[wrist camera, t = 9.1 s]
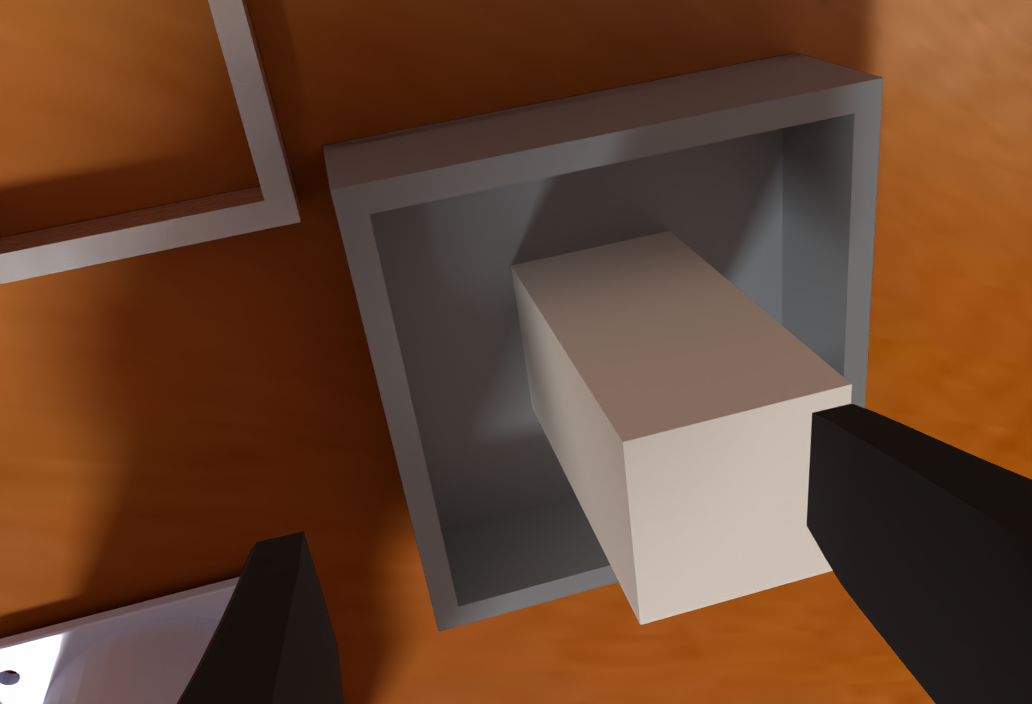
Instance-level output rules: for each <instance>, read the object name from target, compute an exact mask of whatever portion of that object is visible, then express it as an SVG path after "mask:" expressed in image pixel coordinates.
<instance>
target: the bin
mask: <svg viewBox="0 0 1032 704" xmlns="http://www.w3.org/2000/svg"><path fill="white" fill-rule="evenodd" d="M882 88H883V78H882V77H878V76H875V75H871V74H868V73H864V72H861V71H857V70H854V69H851V68H847V67H844V66H840V65H837V64H833V63H830V62H826V61H823V60H819V59H816V58H812V57H809V56H805V55H802V54H798V53H792V54H787V55H782V56H777V57H772V58H767V59H762V60H757V61H752V62H747V63H741V64H736V65H731V66H726V67H721V68H716V69H711V70H706V71H701V72H696V73H690V74H685V75H680V76H675V77H670V78H665V79H660V80H655V81H650V82H644V83H639V84H634V85H629V86H624V87H619V88H614V89H609V90H604V91H599V92H593V93H588V94H583V95H578V96H573V97H568V98H563V99H558V100H553V101H548V102H542V103H537V104H532V105H527V106H522V107H517V108H512V109H507V110H502V111H496V112H491V113H486V114H481V115H476V116H471V117H466V118H461V119H456V120H451V121H445V122H440V123H435V124H430V125H425V126H420V127H415V128H410V129H405V130H400V131H394V132H389V133H384V134H379V135H374V136H369V137H364V138H359V139H354V140H348V141H343V142H338V143H333V144H328V145H323V151H324V157H325V163H326V169H327V174H328V180H329V186H330V192H331V196H332V200H333V204H334V208H335V212H336V216H337V220H338V224H339V228H340V232H341V236H342V241H343V245H344V249H345V253H346V257H347V261H348V265H349V269H350V273H351V277H352V281H353V285H354V289H355V293H356V297H357V302H358V306H359V310H360V314H361V318H362V322H363V326H364V330H365V334H366V338H367V342H368V346H369V350H370V354H371V359H372V363H373V367H374V371H375V375H376V379H377V383H378V387H379V391H380V395H381V399H382V403H383V407H384V411H385V416H386V420H387V424H388V428H389V432H390V436H391V440H392V444H393V448H394V452H395V456H396V460H397V464H398V468H399V473H400V477H401V481H402V485H403V489H404V493H405V497H406V501H407V505H408V509H409V513H410V517H411V521H412V525H413V530H414V534H415V538H416V542H417V546H418V550H419V554H420V558H421V562H422V566H423V570H424V574H425V578H426V582H427V587H428V591H429V595H430V599H431V603H432V607H433V611H434V615H435V619H436V623H437V627H438V631H443V630H446V629H450V628H453V627H457V626H461V625H464V624H468V623H471V622H475V621H479V620H482V619H486V618H490V617H493V616H497V615H500V614H504V613H508V612H511V611H515V610H518V609H522V608H526V607H529V606H533V605H537V604H540V603H544V602H547V601H551V600H555V599H558V598H562V597H565V596H569V595H573V594H576V593H580V592H584V591H587V590H591V589H594V588H598V587H602V586H605V585H609V584H612V583H616V582H619V581H618V579H617V577H616V575H615V573H614V571H613V569H612V567H611V565H610V563H609V561H608V559H607V557H606V555H605V553H604V551H603V549H602V547H601V545H600V543H599V541H598V539H597V537H596V535H595V533H594V531H593V529H592V527H591V525H590V523H589V521H588V519H587V517H586V515H585V513H584V511H583V509H582V507H581V505H580V503H579V501H578V499H577V497H576V495H575V493H574V491H573V489H572V487H571V485H570V483H569V481H568V479H567V477H566V475H565V472H564V470H563V468H562V466H561V464H560V462H559V460H558V458H557V456H556V454H555V452H554V450H553V448H552V446H551V444H550V442H549V440H548V438H547V436H546V434H545V432H544V430H543V428H542V426H541V424H540V422H539V420H538V418H537V416H536V414H535V412H534V410H533V408H532V402H531V396H530V389H529V382H528V376H527V369H526V362H525V356H524V349H523V343H522V336H521V329H520V323H519V316H518V309H517V303H516V296H515V289H514V283H513V276H512V270H511V266H512V265H516V264H521V263H525V262H530V261H534V260H539V259H544V258H548V257H553V256H557V255H562V254H566V253H571V252H575V251H580V250H585V249H589V248H594V247H598V246H603V245H607V244H612V243H616V242H621V241H626V240H630V239H635V238H639V237H644V236H648V235H653V234H657V233H662V232H667V231H670V232H672V233H673V234H674V235H675V236H676V237H678V238H679V239H680V240H681V241H682V242H683V243H685V244H686V245H687V246H688V247H689V248H691V249H692V250H693V251H694V252H695V253H697V254H698V255H699V256H700V257H701V258H702V259H704V260H705V261H706V262H707V263H708V264H710V265H711V266H712V267H713V268H714V269H716V270H717V271H718V272H719V273H720V274H722V275H723V276H724V277H725V278H726V279H727V280H729V281H730V282H731V283H732V284H733V285H735V286H736V287H737V288H738V289H739V290H741V291H742V292H743V293H744V294H745V295H746V296H748V297H749V298H750V299H751V300H752V301H754V302H755V303H756V304H757V305H758V306H760V307H761V308H762V309H763V310H764V311H765V312H767V313H768V314H769V315H770V316H771V317H773V318H774V319H775V320H776V321H777V322H779V323H780V324H781V325H782V326H783V327H784V328H786V329H787V330H788V331H789V332H790V333H792V334H793V335H794V336H795V337H796V338H798V339H799V340H800V341H801V342H802V343H803V344H805V345H806V346H807V347H808V348H809V349H811V350H812V351H813V352H814V353H815V354H817V355H818V356H819V357H820V358H821V359H823V360H824V361H825V362H826V363H827V364H828V365H830V366H831V367H832V368H833V369H834V370H836V371H837V372H838V373H839V374H840V375H842V376H843V377H844V378H845V379H846V380H847V381H849V382H850V383H851V384H852V393H851V403H852V404H855V405H857V406H860V407H863V408H865V397H866V379H867V361H868V342H869V324H870V306H871V288H872V270H873V251H874V233H875V215H876V197H877V179H878V161H879V142H880V124H881V106H882Z"/></svg>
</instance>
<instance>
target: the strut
mask: <svg viewBox="0 0 1032 704" xmlns="http://www.w3.org/2000/svg"><path fill="white" fill-rule="evenodd" d="M511 270H512V276H513V283H514V289H515V296H516V303H517V309H518V316H519V323H520V329H521V336H522V343H523V349H524V356H525V362H526V369H527V376H528V382H529V389H530V396H531V402H532V408H533V410H534V412H535V414H536V416H537V418H538V420H539V422H540V424H541V426H542V428H543V430H544V432H545V434H546V436H547V438H548V440H549V442H550V444H551V446H552V448H553V450H554V452H555V454H556V456H557V458H558V460H559V462H560V464H561V466H562V468H563V470H564V472H565V475H566V477H567V479H568V481H569V483H570V485H571V487H572V489H573V491H574V493H575V495H576V497H577V499H578V501H579V503H580V505H581V507H582V509H583V511H584V513H585V515H586V517H587V519H588V521H589V523H590V525H591V527H592V529H593V531H594V533H595V535H596V537H597V539H598V541H599V543H600V545H601V547H602V549H603V551H604V553H605V555H606V557H607V559H608V561H609V563H610V565H611V567H612V569H613V571H614V573H615V575H616V577H617V579H618V581H619V583H620V585H621V587H622V589H623V591H624V593H625V595H626V597H627V599H628V601H629V603H630V605H631V607H632V609H633V611H634V613H635V615H636V617H637V619H638V621H639V623H640V625H642V624H646V623H649V622H653V621H656V620H660V619H664V618H667V617H671V616H674V615H678V614H681V613H685V612H688V611H692V610H695V609H699V608H702V607H706V606H709V605H713V604H716V603H720V602H724V601H727V600H731V599H734V598H738V597H741V596H745V595H748V594H752V593H755V592H759V591H762V590H766V589H769V588H773V587H776V586H780V585H784V584H787V583H791V582H794V581H798V580H801V579H805V578H808V577H812V576H815V575H819V574H822V573H826V572H829V571H833V570H832V568H831V567H830V565H829V563H828V562H827V560H826V559H825V557H824V555H823V553H822V552H821V550H820V548H819V546H818V545H817V543H816V541H815V539H814V538H813V536H812V534H811V532H810V531H809V529H808V527H807V505H808V485H809V465H810V445H811V424H812V413H813V412H817V411H821V410H826V409H830V408H834V407H839V406H843V405H847V404H851V393H852V384H851V383H850V382H849V381H847V380H846V379H845V378H844V377H843V376H842V375H840V374H839V373H838V372H837V371H836V370H834V369H833V368H832V367H831V366H830V365H828V364H827V363H826V362H825V361H824V360H823V359H821V358H820V357H819V356H818V355H817V354H815V353H814V352H813V351H812V350H811V349H809V348H808V347H807V346H806V345H805V344H803V343H802V342H801V341H800V340H799V339H798V338H796V337H795V336H794V335H793V334H792V333H790V332H789V331H788V330H787V329H786V328H784V327H783V326H782V325H781V324H780V323H779V322H777V321H776V320H775V319H774V318H773V317H771V316H770V315H769V314H768V313H767V312H765V311H764V310H763V309H762V308H761V307H760V306H758V305H757V304H756V303H755V302H754V301H752V300H751V299H750V298H749V297H748V296H746V295H745V294H744V293H743V292H742V291H741V290H739V289H738V288H737V287H736V286H735V285H733V284H732V283H731V282H730V281H729V280H727V279H726V278H725V277H724V276H723V275H722V274H720V273H719V272H718V271H717V270H716V269H714V268H713V267H712V266H711V265H710V264H708V263H707V262H706V261H705V260H704V259H702V258H701V257H700V256H699V255H698V254H697V253H695V252H694V251H693V250H692V249H691V248H689V247H688V246H687V245H686V244H685V243H683V242H682V241H681V240H680V239H679V238H678V237H676V236H675V235H674V234H673V233H672V232H670V231H667V232H662V233H657V234H653V235H648V236H644V237H639V238H635V239H630V240H626V241H621V242H616V243H612V244H607V245H603V246H598V247H594V248H589V249H585V250H580V251H575V252H571V253H566V254H562V255H557V256H553V257H548V258H544V259H539V260H534V261H530V262H525V263H521V264H516V265H512V266H511Z"/></svg>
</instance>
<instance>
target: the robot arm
mask: <svg viewBox="0 0 1032 704" xmlns="http://www.w3.org/2000/svg"><path fill="white" fill-rule="evenodd" d="M807 527H808V529H809V531H810V532H811V534H812V536H813V538H814V539H815V541H816V543H817V545H818V546H819V548H820V550H821V552H822V553H823V555H824V557H825V559H826V560H827V562H828V563H829V565H830V567H831V568H832V570H833V572H834V573H835V575H836V576H837V578H838V580H839V581H840V583H841V584H842V586H843V587H844V588H845V590H846V591H847V592H848V594H849V595H850V596H851V598H852V599H853V600H854V601H855V603H856V604H857V605H858V607H859V608H860V609H861V610H862V612H863V613H864V614H865V616H866V617H867V618H868V619H869V621H870V622H871V623H872V624H873V626H874V627H875V628H876V630H877V631H878V632H879V633H880V635H881V636H882V637H883V638H884V640H885V641H886V642H887V643H888V645H889V646H890V647H891V648H892V650H893V651H894V652H895V653H896V655H897V656H898V657H899V658H900V660H901V661H902V662H903V663H904V665H905V666H906V667H907V668H908V670H909V671H910V672H911V673H912V675H913V676H914V677H915V678H916V680H917V681H918V682H919V683H920V685H921V686H922V687H923V688H924V690H925V691H926V692H927V693H928V695H929V696H930V697H931V698H932V700H933V701H934V702H935V703H936V704H1032V480H1031V479H1029V478H1026V477H1024V476H1021V475H1019V474H1017V473H1014V472H1012V471H1009V470H1007V469H1004V468H1002V467H1000V466H997V465H995V464H992V463H990V462H988V461H985V460H983V459H981V458H978V457H976V456H974V455H971V454H969V453H967V452H964V451H962V450H960V449H958V448H955V447H953V446H951V445H949V444H946V443H944V442H942V441H940V440H937V439H935V438H933V437H931V436H928V435H926V434H924V433H922V432H919V431H917V430H915V429H913V428H910V427H908V426H906V425H903V424H901V423H899V422H897V421H894V420H892V419H890V418H887V417H885V416H883V415H880V414H878V413H875V412H873V411H871V410H868V409H865V408H863V407H860V406H857V405H855V404H852V403H851V404H847V405H843V406H839V407H834V408H830V409H826V410H821V411H817V412H813V413H812V424H811V445H810V465H809V485H808V505H807ZM4 670H13V671H16V672H17V673H16V674H10V673H6V672H5V671H4ZM0 701H1V703H2V704H344V700H343V691H342V681H341V673H340V664H339V656H338V647H337V642H336V638H335V635H334V632H333V628H332V625H331V622H330V618H329V615H328V612H327V608H326V605H325V602H324V598H323V595H322V591H321V588H320V585H319V581H318V578H317V575H316V571H315V568H314V565H313V561H312V558H311V555H310V551H309V548H308V545H307V541H306V538H305V535H304V531H303V532H299V533H295V534H291V535H286V536H282V537H278V538H274V539H269V540H265V541H261V542H257V543H256V544H255V546H254V547H253V548H252V550H251V551H250V553H249V556H248V558H247V561H246V563H245V566H244V568H243V571H242V573H241V575H240V577H237V578H233V579H229V580H225V581H221V582H217V583H214V584H210V585H206V586H202V587H198V588H194V589H190V590H187V591H183V592H179V593H175V594H171V595H167V596H163V597H160V598H156V599H152V600H148V601H144V602H140V603H137V604H133V605H129V606H125V607H121V608H117V609H113V610H110V611H106V612H102V613H98V614H94V615H90V616H86V617H83V618H79V619H75V620H71V621H67V622H63V623H59V624H56V625H52V626H48V627H44V628H40V629H36V630H33V631H29V632H25V633H21V634H17V635H13V636H9V637H6V638H2V639H0Z"/></svg>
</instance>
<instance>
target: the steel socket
mask: <svg viewBox="0 0 1032 704" xmlns="http://www.w3.org/2000/svg"><path fill="white" fill-rule="evenodd" d="M208 2H209V6H210V10H211V13H212V17H213V20H214V24H215V27H216V31H217V34H218V38H219V41H220V45H221V48H222V52H223V55H224V59H225V62H226V66H227V70H228V73H229V77H230V80H231V84H232V87H233V91H234V94H235V98H236V101H237V105H238V108H239V112H240V115H241V119H242V122H243V126H244V130H245V133H246V137H247V140H248V144H249V147H250V151H251V154H252V158H253V161H254V165H255V168H256V172H257V175H258V179H259V182H260V186H258V187H253V188H248V189H243V190H238V191H233V192H228V193H223V194H218V195H213V196H208V197H203V198H198V199H193V200H188V201H183V202H178V203H173V204H168V205H163V206H158V207H153V208H148V209H143V210H138V211H133V212H128V213H123V214H118V215H113V216H108V217H103V218H98V219H93V220H88V221H83V222H78V223H73V224H68V225H63V226H58V227H53V228H48V229H43V230H38V231H33V232H28V233H23V234H18V235H13V236H8V237H3V238H0V284H3V283H8V282H13V281H18V280H23V279H28V278H32V277H37V276H42V275H47V274H52V273H57V272H61V271H66V270H71V269H76V268H81V267H86V266H90V265H95V264H100V263H105V262H110V261H115V260H119V259H124V258H129V257H134V256H139V255H143V254H148V253H153V252H158V251H163V250H168V249H172V248H177V247H182V246H187V245H192V244H197V243H201V242H206V241H211V240H216V239H221V238H226V237H230V236H235V235H240V234H245V233H250V232H255V231H259V230H264V229H269V228H274V227H279V226H284V225H288V224H293V223H298V222H301V217H300V204H299V200H298V197H297V193H296V189H295V185H294V181H293V178H292V174H291V170H290V166H289V162H288V159H287V155H286V151H285V147H284V144H283V140H282V136H281V132H280V128H279V125H278V121H277V117H276V113H275V110H274V106H273V102H272V98H271V94H270V91H269V87H268V83H267V79H266V76H265V72H264V68H263V64H262V60H261V57H260V53H259V49H258V45H257V42H256V38H255V34H254V30H253V26H252V23H251V19H250V15H249V11H248V8H247V4H246V0H208Z"/></svg>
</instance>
